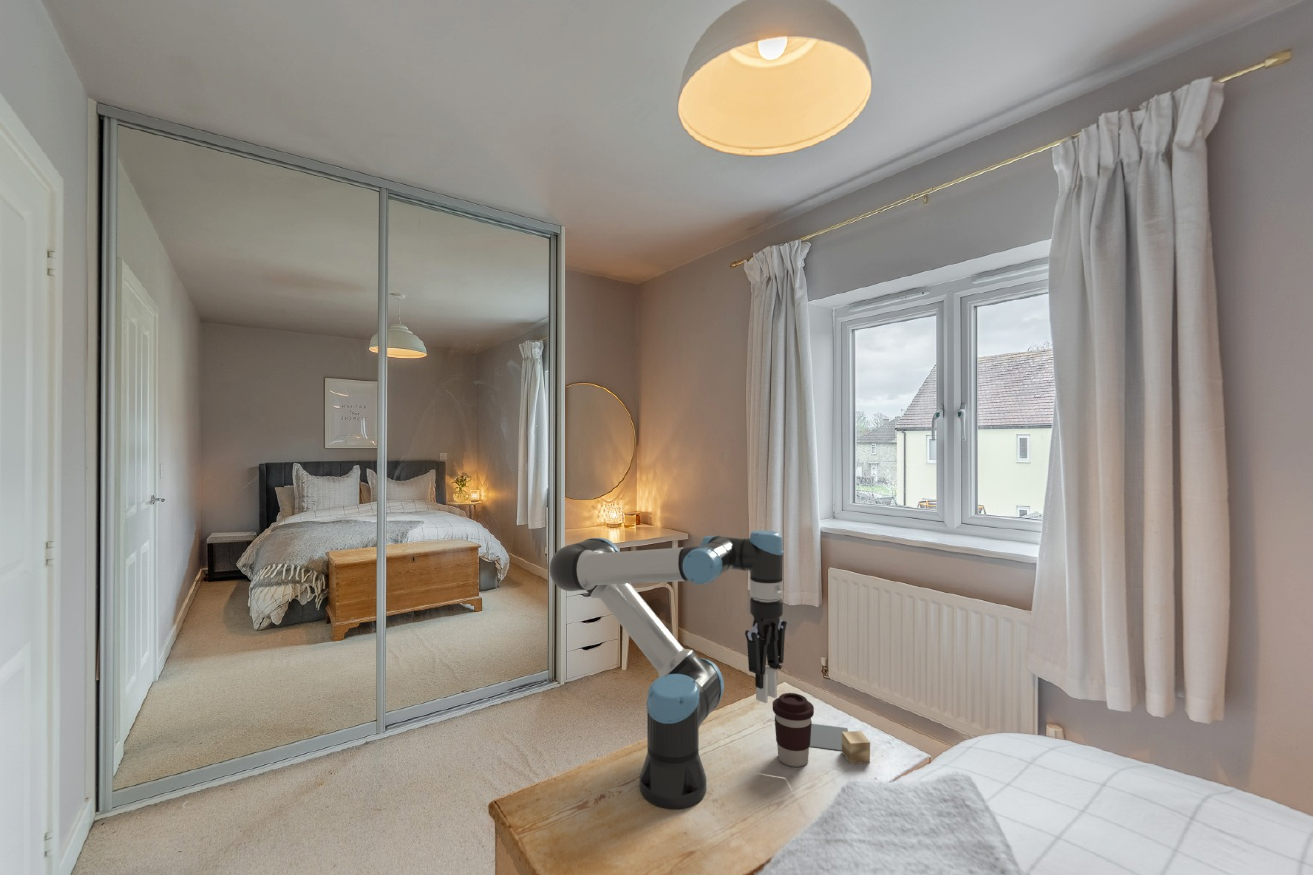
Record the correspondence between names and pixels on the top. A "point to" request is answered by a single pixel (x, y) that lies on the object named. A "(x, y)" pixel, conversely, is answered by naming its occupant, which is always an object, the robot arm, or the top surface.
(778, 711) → the coffee cup
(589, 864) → the top surface
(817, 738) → the display mat
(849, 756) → the oak block
